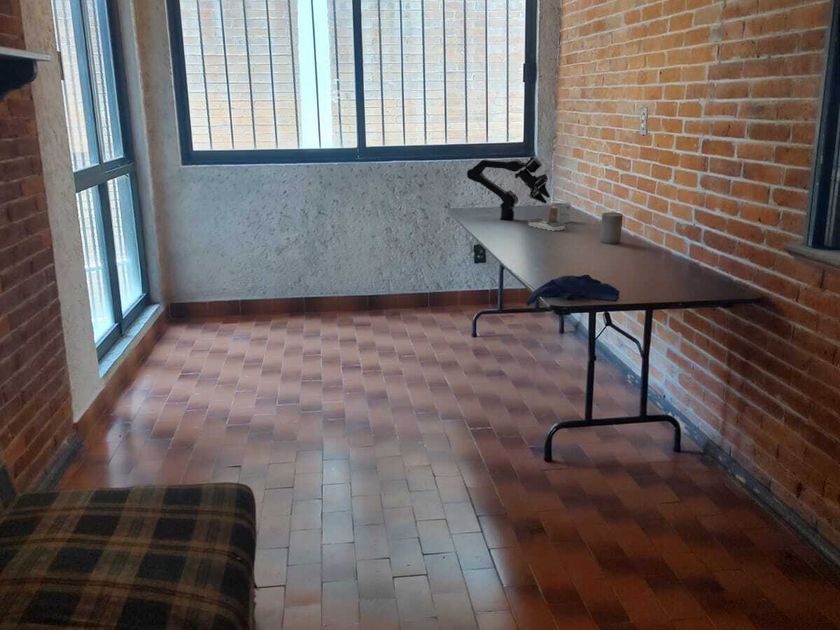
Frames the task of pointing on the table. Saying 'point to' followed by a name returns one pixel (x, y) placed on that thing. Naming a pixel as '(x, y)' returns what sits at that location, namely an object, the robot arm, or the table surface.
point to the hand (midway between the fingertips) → (547, 200)
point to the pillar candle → (611, 228)
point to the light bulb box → (563, 211)
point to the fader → (553, 214)
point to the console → (542, 224)
